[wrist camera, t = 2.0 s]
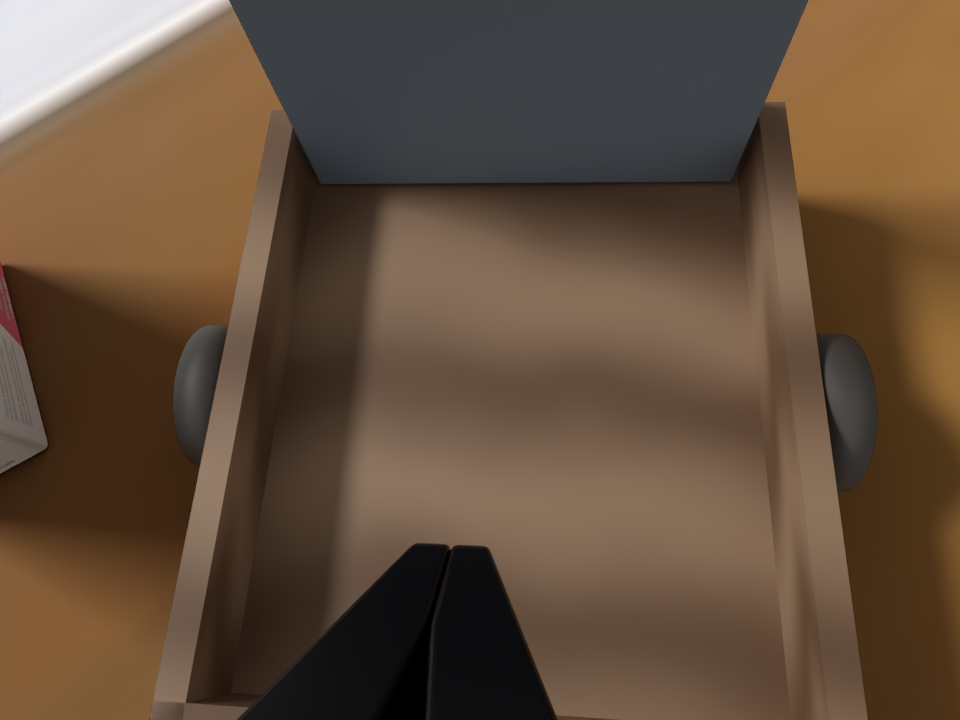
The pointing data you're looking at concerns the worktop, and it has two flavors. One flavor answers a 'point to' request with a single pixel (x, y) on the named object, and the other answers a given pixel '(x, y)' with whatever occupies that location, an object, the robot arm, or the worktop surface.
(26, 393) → the ink box
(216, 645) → the tray
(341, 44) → the tailgate
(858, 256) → the worktop surface
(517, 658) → the robot arm
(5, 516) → the worktop surface
